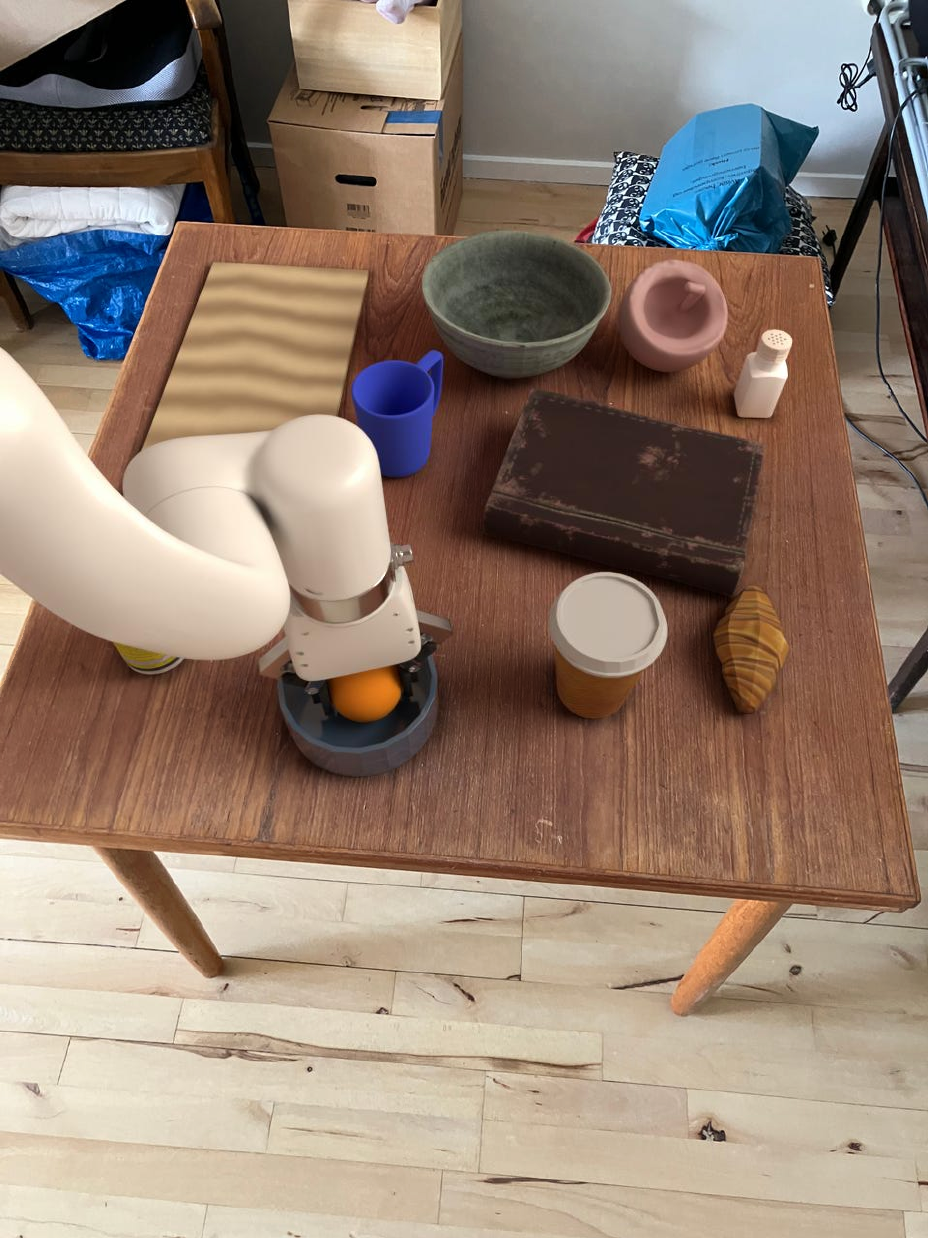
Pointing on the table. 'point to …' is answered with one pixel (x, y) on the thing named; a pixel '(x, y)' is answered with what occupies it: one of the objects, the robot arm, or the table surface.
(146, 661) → the pill bottle
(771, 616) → the croissant
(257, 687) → the table surface
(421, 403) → the mug
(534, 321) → the bowl
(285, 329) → the serving board
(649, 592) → the disposable coffee cup
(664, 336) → the mortar and pestle
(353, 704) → the orange
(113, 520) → the robot arm
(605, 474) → the diary
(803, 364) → the table surface
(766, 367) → the salt shaker
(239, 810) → the table surface
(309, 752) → the fruit bowl
